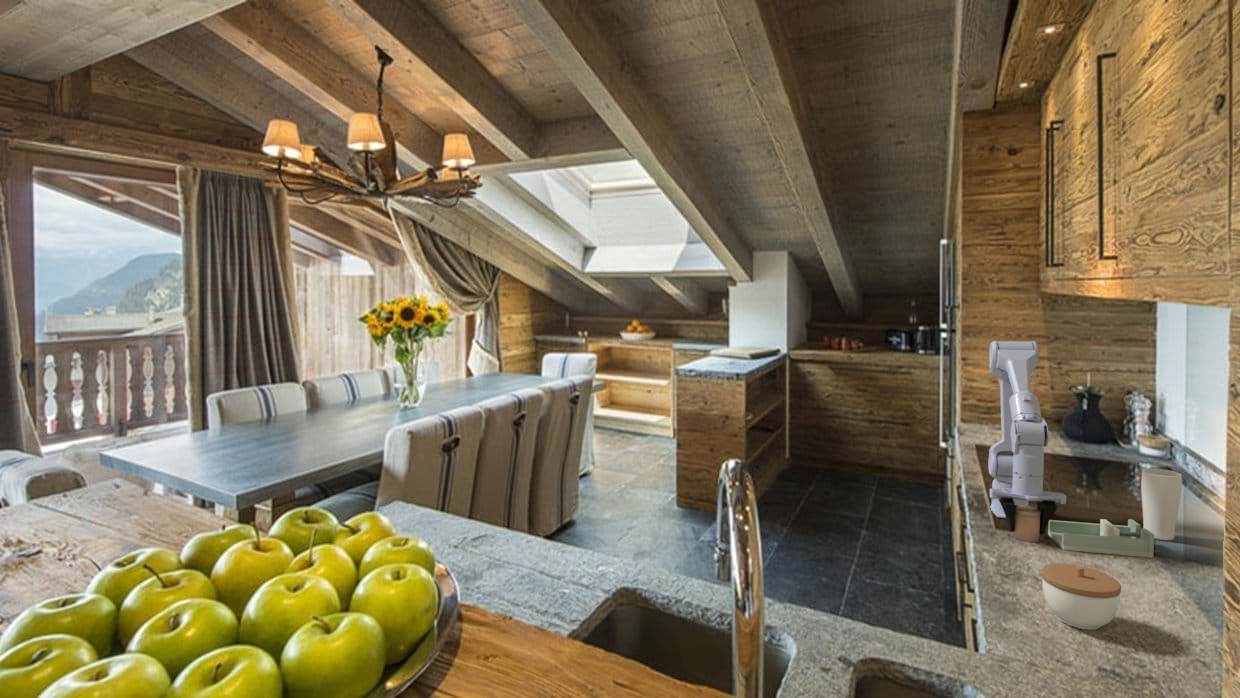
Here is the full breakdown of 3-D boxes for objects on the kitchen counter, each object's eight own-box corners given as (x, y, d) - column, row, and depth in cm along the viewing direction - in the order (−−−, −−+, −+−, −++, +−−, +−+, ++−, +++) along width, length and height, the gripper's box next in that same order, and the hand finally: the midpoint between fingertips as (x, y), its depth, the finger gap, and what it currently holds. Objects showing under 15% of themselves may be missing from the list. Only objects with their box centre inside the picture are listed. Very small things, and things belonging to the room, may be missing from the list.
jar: (1008, 532, 140) (1009, 504, 140) (1035, 534, 139) (1036, 505, 138) (1015, 541, 135) (1016, 511, 135) (1043, 543, 134) (1044, 513, 133)
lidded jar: (1042, 598, 109) (1044, 549, 109) (1118, 617, 103) (1121, 564, 102) (1037, 623, 101) (1039, 570, 100) (1119, 645, 94) (1122, 588, 94)
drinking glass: (1180, 545, 131) (1184, 478, 130) (1140, 538, 135) (1143, 473, 134) (1176, 535, 137) (1180, 471, 135) (1137, 528, 141) (1140, 466, 139)
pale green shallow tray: (1047, 534, 139) (1048, 513, 138) (1131, 541, 134) (1132, 519, 133) (1063, 549, 130) (1064, 527, 130) (1153, 557, 125) (1154, 534, 125)
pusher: (1099, 534, 134) (1100, 518, 134) (1142, 538, 132) (1143, 522, 132) (1113, 546, 128) (1114, 529, 128) (1158, 550, 126) (1159, 533, 126)
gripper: (996, 475, 134) (994, 534, 135) (1072, 480, 130) (1070, 541, 131) (987, 467, 141) (986, 523, 142) (1059, 471, 136) (1057, 529, 138)
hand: (1025, 531), depth 137 cm, fingers closed on jar, 5 cm apart
